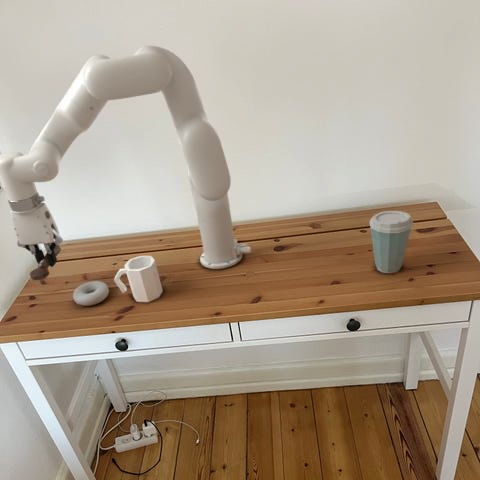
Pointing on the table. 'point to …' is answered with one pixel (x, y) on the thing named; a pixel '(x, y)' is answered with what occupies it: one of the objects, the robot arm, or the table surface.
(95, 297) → the donut
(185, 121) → the robot arm
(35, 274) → the spoon
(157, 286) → the mug
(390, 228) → the disposable coffee cup
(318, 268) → the table surface
